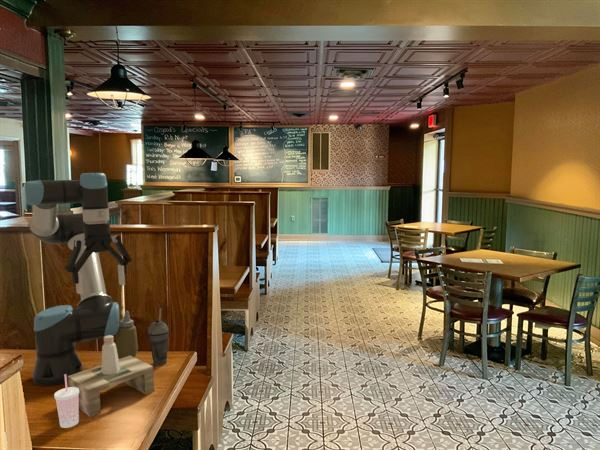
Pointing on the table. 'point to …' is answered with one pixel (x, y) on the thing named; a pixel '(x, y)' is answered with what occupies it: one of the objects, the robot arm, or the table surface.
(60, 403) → the beverage cup
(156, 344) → the beverage cup
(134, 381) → the cut-out shelf
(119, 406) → the table surface
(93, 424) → the table surface
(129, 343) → the squeeze bottle
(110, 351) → the pepper shaker
